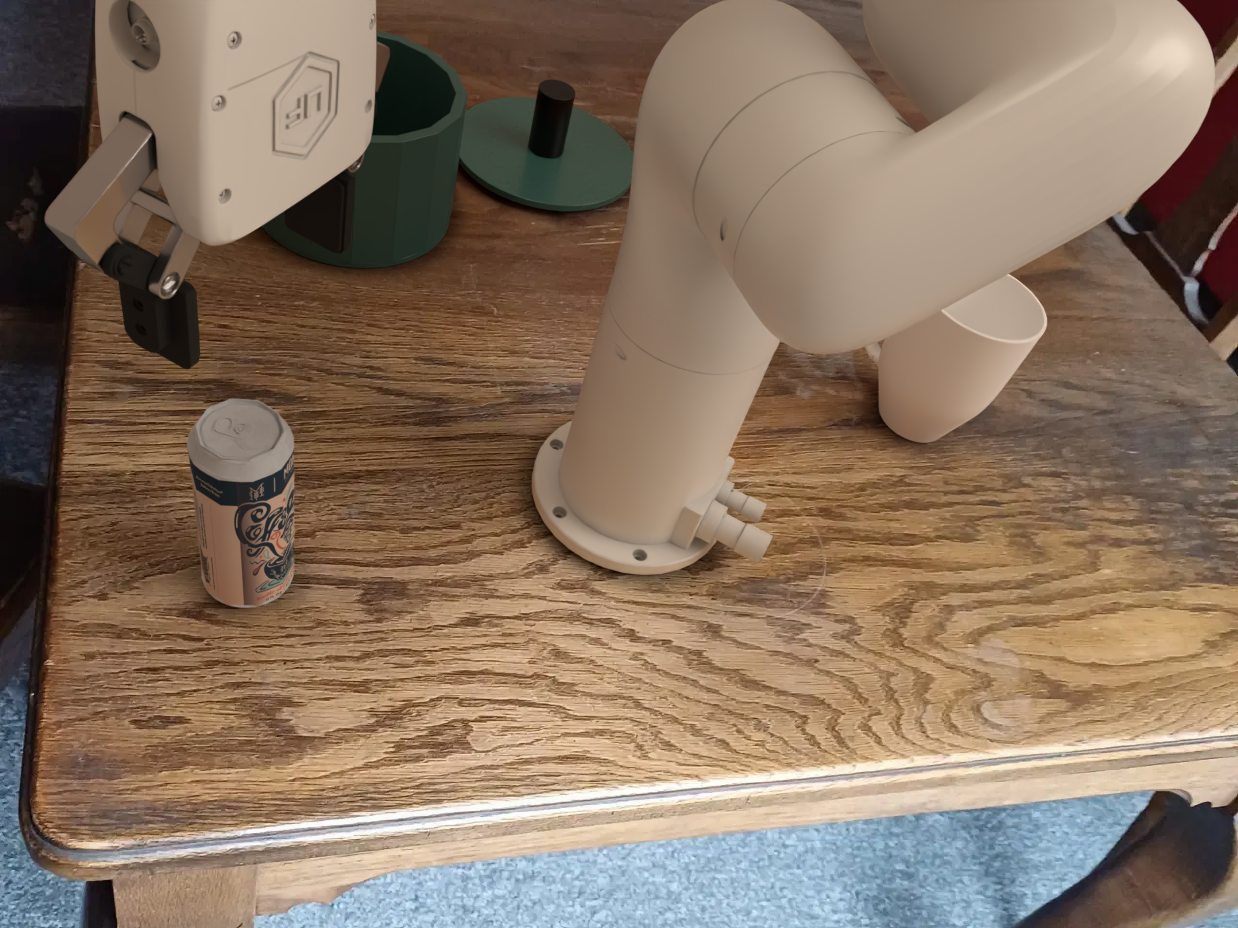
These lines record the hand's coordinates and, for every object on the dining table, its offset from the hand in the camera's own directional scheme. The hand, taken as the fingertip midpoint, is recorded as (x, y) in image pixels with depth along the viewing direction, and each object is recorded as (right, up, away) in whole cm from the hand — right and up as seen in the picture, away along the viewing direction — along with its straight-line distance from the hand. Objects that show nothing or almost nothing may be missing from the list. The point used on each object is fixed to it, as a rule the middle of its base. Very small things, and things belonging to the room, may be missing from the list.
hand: (245, 290), depth 46 cm
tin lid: (+10, +19, +45) cm, 50 cm away
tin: (-4, +12, +36) cm, 38 cm away
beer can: (-4, -14, +13) cm, 19 cm away
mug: (+36, -3, +35) cm, 50 cm away
